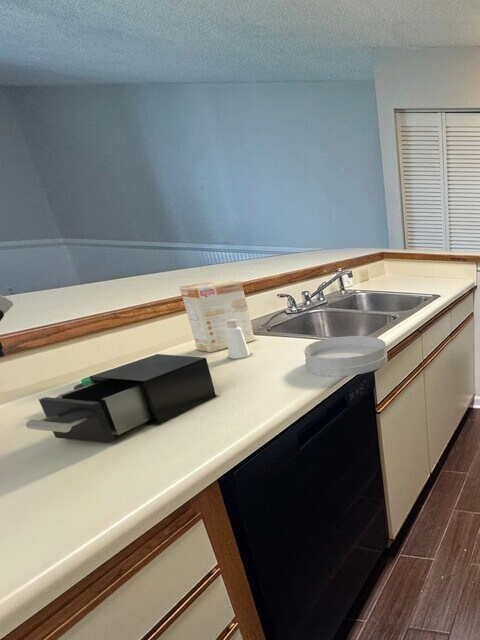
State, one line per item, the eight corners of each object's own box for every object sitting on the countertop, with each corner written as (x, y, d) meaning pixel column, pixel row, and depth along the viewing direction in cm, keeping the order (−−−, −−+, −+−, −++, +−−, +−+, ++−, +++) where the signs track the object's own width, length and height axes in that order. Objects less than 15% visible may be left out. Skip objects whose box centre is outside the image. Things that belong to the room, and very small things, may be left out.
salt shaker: (236, 352, 128) (228, 317, 124) (254, 353, 128) (246, 317, 124) (224, 358, 123) (215, 321, 119) (243, 359, 123) (234, 322, 119)
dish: (371, 378, 111) (369, 360, 109) (290, 374, 112) (286, 356, 110) (397, 352, 132) (396, 337, 130) (329, 349, 133) (326, 334, 131)
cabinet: (159, 425, 85) (144, 381, 81) (105, 419, 87) (88, 376, 83) (216, 396, 98) (206, 357, 95) (169, 392, 100) (157, 353, 96)
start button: (79, 387, 92) (76, 380, 92) (96, 381, 96) (93, 374, 95) (93, 389, 92) (90, 381, 91) (110, 383, 95) (107, 375, 95)
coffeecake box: (241, 337, 143) (227, 279, 136) (256, 340, 140) (243, 281, 133) (195, 349, 130) (178, 285, 123) (211, 352, 128) (194, 287, 120)
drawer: (82, 456, 72) (65, 415, 69) (27, 449, 74) (8, 409, 71) (174, 411, 89) (163, 377, 86) (127, 407, 90) (115, 373, 87)
